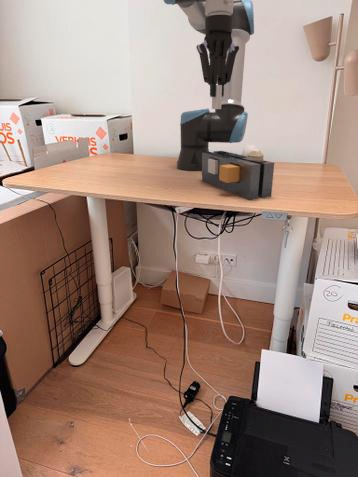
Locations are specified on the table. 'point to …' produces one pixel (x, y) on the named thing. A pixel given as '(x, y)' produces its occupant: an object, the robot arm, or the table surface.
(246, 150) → the light bulb
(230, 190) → the dark grey button box
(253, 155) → the candle
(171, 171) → the table surface
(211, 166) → the white button
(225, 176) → the orange button
